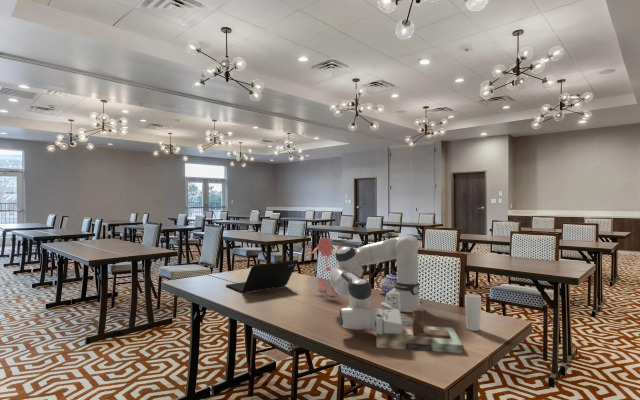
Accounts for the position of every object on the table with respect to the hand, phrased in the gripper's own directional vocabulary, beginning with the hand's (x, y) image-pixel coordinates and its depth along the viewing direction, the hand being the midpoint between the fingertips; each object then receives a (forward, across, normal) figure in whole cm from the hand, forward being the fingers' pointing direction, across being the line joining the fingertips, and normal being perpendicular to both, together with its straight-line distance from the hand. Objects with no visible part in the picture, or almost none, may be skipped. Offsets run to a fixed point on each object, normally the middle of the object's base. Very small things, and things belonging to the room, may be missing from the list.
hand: (412, 321), depth 152 cm
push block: (+7, 0, -5) cm, 9 cm away
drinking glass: (+28, -19, -8) cm, 35 cm away
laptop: (-91, -81, -9) cm, 122 cm away
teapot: (-5, -76, -8) cm, 77 cm away
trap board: (+2, 0, -8) cm, 8 cm away
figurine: (-47, -75, -8) cm, 89 cm away
